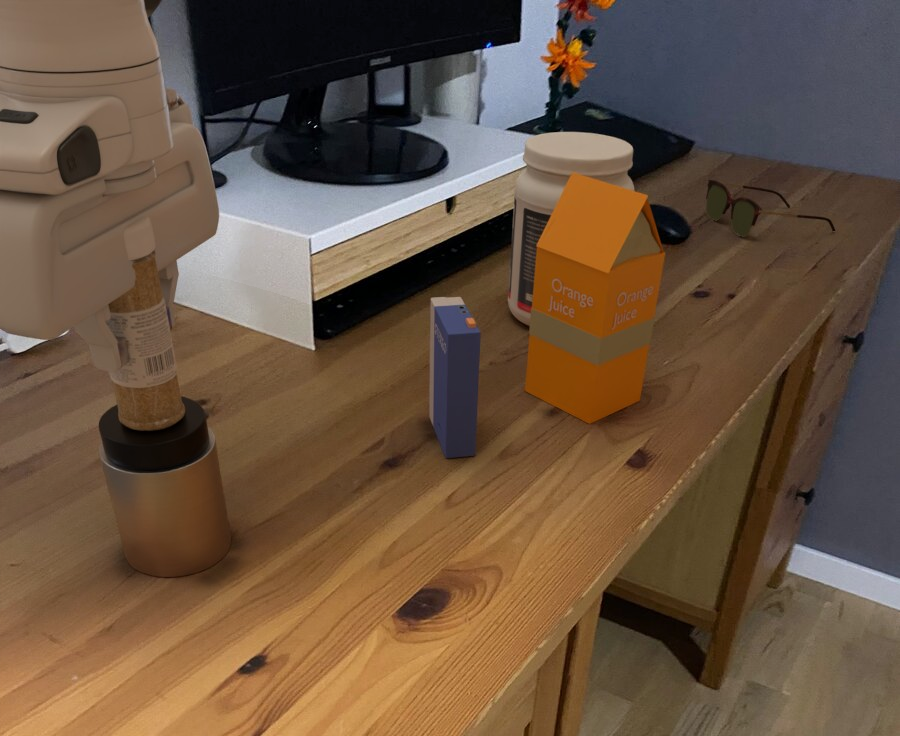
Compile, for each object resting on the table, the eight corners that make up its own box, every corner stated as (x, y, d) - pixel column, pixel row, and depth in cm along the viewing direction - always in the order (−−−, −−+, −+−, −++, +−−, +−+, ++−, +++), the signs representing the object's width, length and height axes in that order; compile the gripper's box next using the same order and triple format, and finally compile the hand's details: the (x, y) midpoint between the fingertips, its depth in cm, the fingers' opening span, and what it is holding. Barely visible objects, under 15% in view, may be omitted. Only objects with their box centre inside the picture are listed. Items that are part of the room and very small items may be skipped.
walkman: (475, 456, 82) (481, 327, 74) (445, 459, 81) (448, 330, 73) (457, 414, 87) (461, 291, 80) (428, 416, 87) (429, 293, 79)
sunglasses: (699, 212, 137) (708, 176, 134) (781, 213, 142) (792, 179, 139) (750, 243, 127) (761, 206, 124) (838, 244, 131) (851, 207, 128)
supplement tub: (638, 328, 104) (667, 154, 92) (541, 346, 100) (557, 166, 88) (579, 288, 113) (598, 125, 101) (487, 303, 108) (495, 134, 97)
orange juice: (575, 369, 95) (600, 164, 83) (641, 400, 90) (678, 187, 78) (522, 391, 91) (540, 179, 79) (588, 425, 86) (618, 204, 74)
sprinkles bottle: (168, 396, 66) (130, 201, 57) (197, 421, 63) (163, 220, 54) (107, 414, 64) (58, 214, 55) (135, 441, 61) (89, 235, 52)
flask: (103, 565, 68) (67, 435, 61) (160, 508, 74) (133, 384, 67) (199, 587, 67) (174, 456, 60) (249, 526, 72) (231, 401, 65)
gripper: (139, 77, 59) (175, 286, 68) (-89, 155, 44) (-5, 410, 53) (227, 86, 58) (251, 297, 67) (22, 169, 43) (89, 428, 52)
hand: (137, 348), depth 60 cm, fingers closed on sprinkles bottle, 4 cm apart
